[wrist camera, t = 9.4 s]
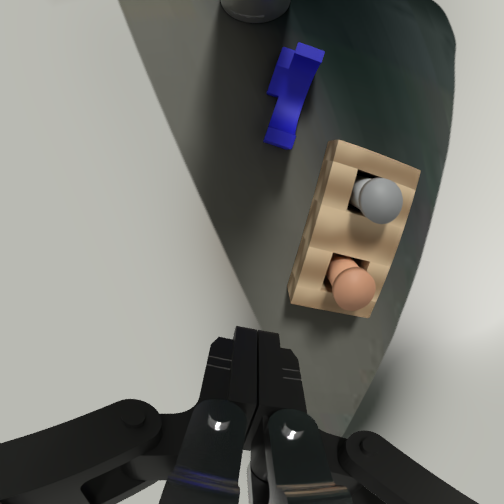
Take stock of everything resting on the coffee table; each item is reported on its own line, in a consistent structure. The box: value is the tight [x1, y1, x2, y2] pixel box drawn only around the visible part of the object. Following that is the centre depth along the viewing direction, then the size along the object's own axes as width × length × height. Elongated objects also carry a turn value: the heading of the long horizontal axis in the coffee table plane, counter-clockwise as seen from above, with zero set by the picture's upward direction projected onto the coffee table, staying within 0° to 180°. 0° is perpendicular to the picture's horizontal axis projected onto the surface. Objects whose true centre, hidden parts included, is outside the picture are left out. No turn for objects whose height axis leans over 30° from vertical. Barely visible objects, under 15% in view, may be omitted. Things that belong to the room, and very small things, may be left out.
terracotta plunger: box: [326, 253, 376, 311], centre depth 34 cm, size 5×5×8 cm
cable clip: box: [263, 42, 325, 150], centre depth 30 cm, size 12×4×6 cm, turn 162°
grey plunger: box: [349, 176, 403, 224], centre depth 32 cm, size 5×5×8 cm
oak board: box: [287, 140, 421, 318], centre depth 36 cm, size 20×11×5 cm, turn 167°
